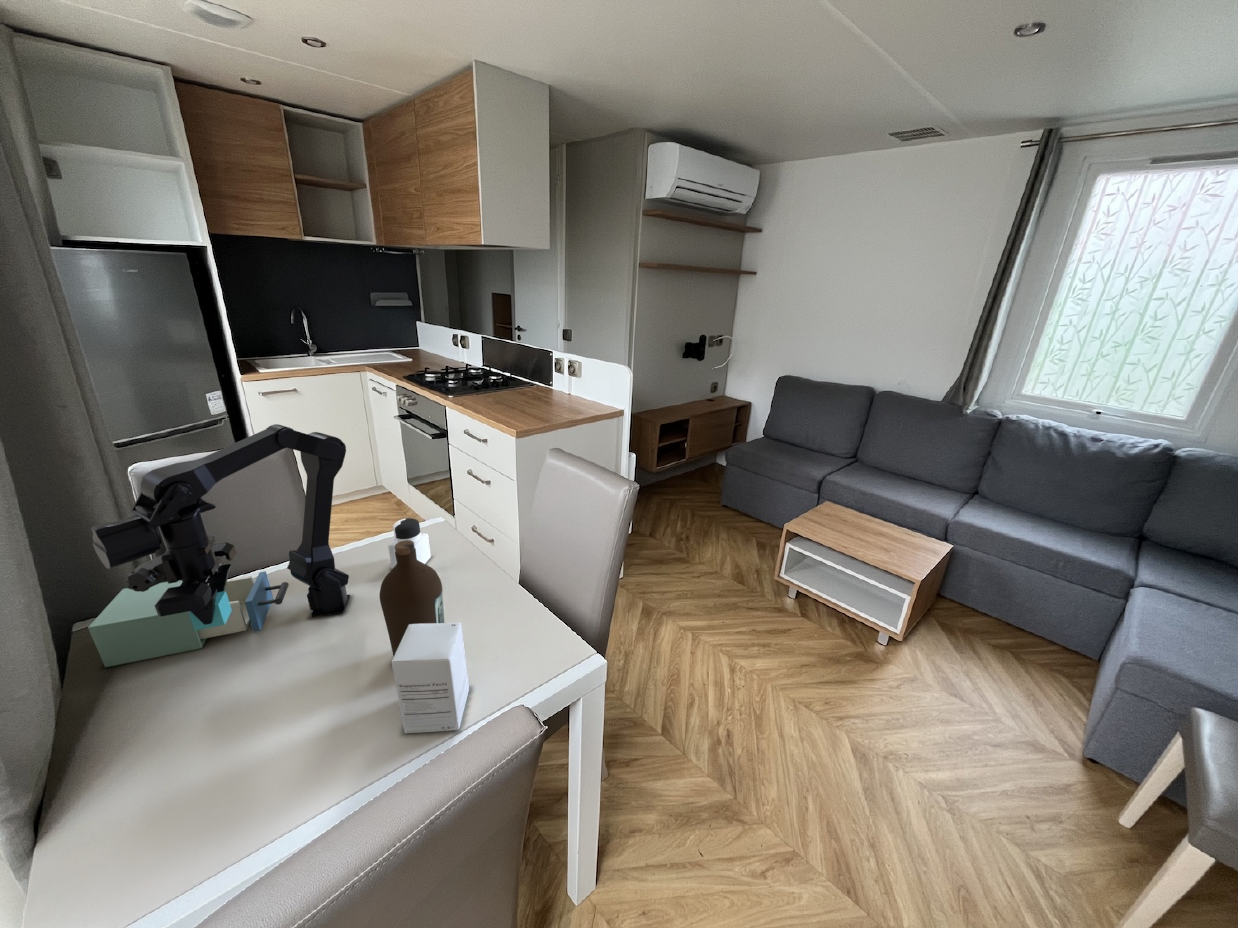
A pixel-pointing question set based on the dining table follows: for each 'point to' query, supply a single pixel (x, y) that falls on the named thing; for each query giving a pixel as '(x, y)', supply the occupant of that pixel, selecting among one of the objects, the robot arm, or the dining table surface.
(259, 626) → the drawer
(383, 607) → the olive oil
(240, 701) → the dining table surface
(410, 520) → the medicine bottle
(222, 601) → the block
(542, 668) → the dining table surface
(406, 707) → the white product box
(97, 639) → the cabinet
